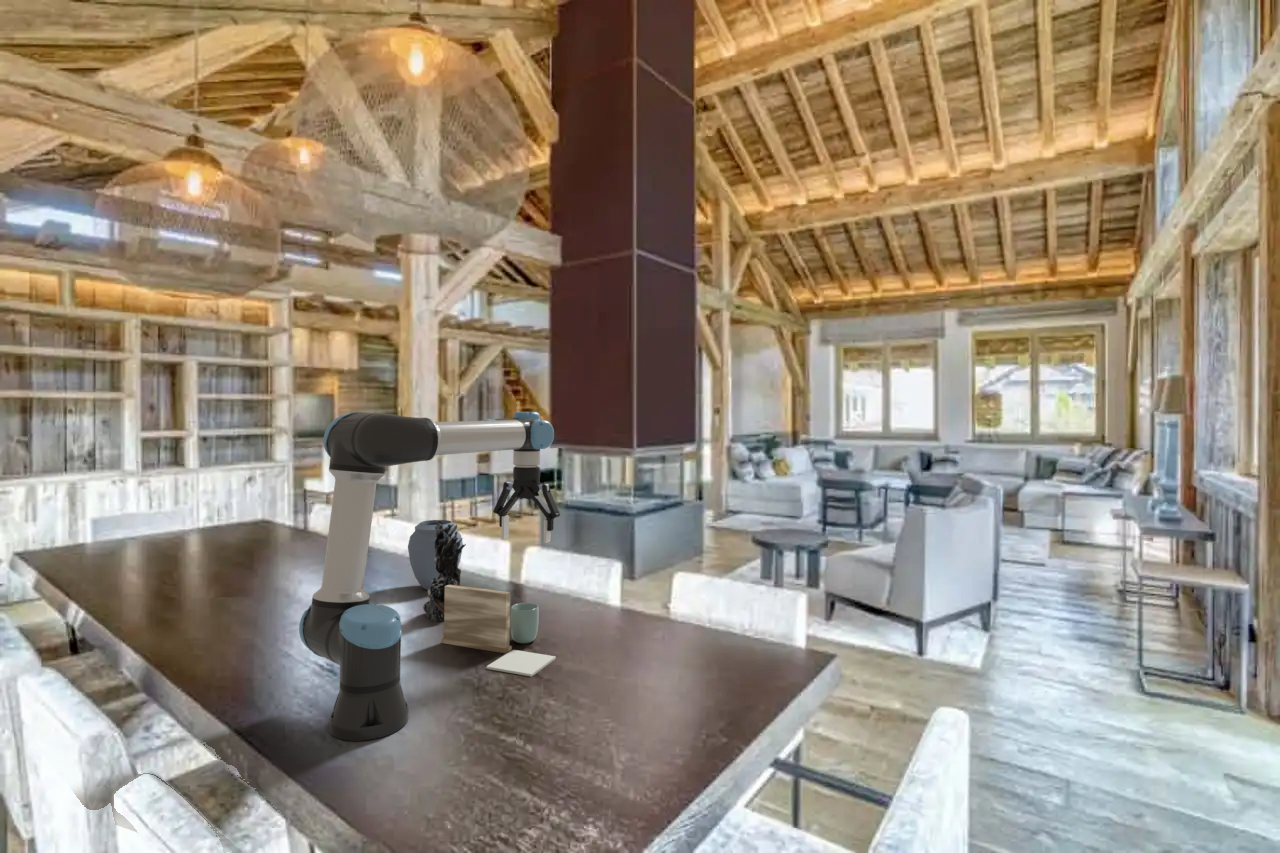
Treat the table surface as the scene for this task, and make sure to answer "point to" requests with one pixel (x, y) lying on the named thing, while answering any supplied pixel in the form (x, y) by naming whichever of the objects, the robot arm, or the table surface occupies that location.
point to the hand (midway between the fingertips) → (525, 540)
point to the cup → (524, 622)
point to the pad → (521, 662)
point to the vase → (426, 551)
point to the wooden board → (477, 618)
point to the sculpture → (443, 570)
